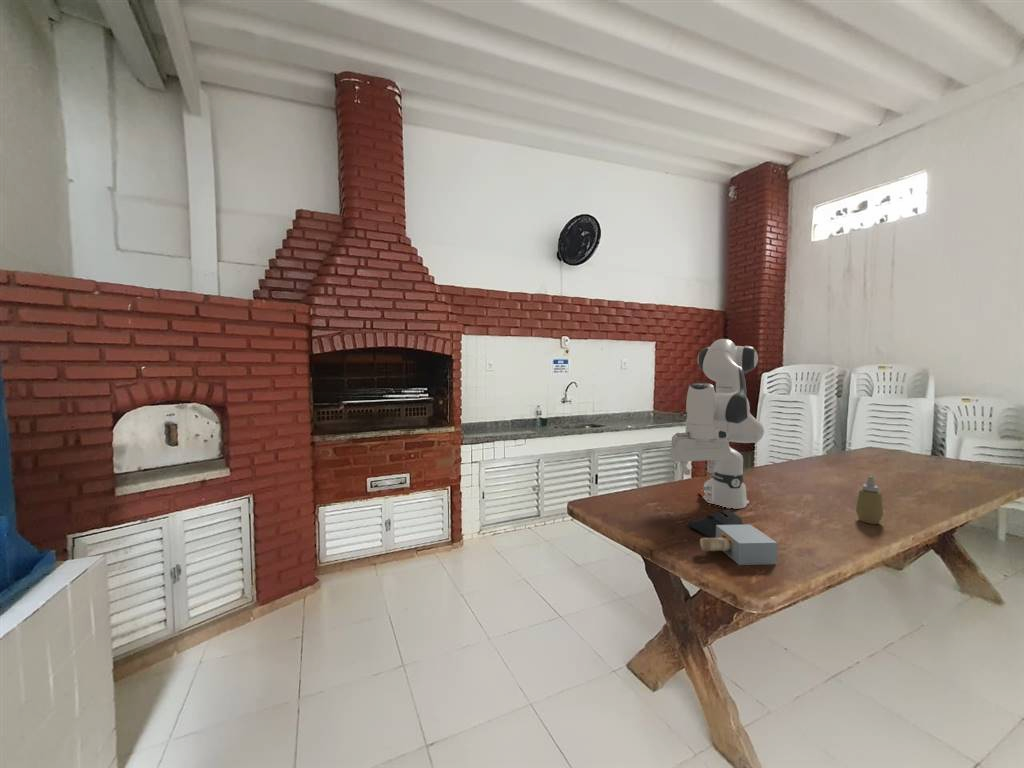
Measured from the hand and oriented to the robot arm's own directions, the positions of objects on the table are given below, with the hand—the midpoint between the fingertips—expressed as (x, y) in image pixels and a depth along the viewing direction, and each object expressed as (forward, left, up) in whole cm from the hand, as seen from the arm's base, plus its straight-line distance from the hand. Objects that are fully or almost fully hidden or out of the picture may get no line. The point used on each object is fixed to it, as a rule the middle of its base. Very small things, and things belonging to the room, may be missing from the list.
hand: (698, 473), depth 134 cm
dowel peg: (+2, +7, -25) cm, 26 cm away
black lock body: (-20, +17, -28) cm, 38 cm away
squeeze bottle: (-22, +79, -27) cm, 86 cm away
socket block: (+2, +15, -27) cm, 31 cm away
